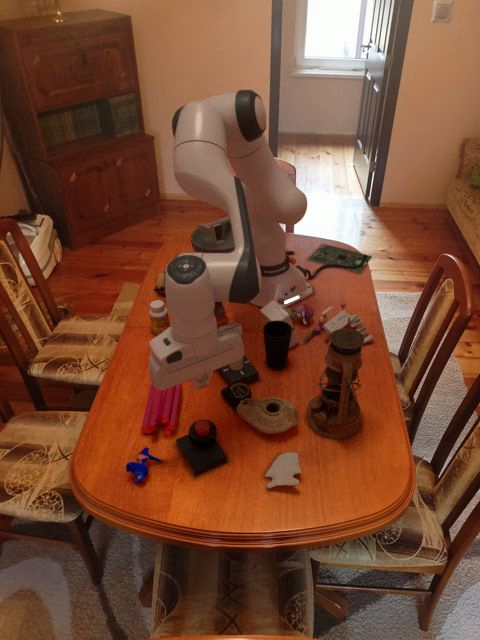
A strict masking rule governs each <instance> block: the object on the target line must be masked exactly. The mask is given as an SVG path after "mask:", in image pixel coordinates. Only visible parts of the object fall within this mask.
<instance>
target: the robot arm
mask: <svg viewBox="0 0 480 640" xmlns="http://www.w3.org/2000/svg"><path fill="white" fill-rule="evenodd" d="M266 129H267V111H266V107H265V105H264V101H263V100H262V97H261V95H260V94H258V93H257V92H256V91H254V90H253V89H238V90H237V91H235V92H233V91H232V92H225V93H219V94H215V95H211V96H210V97H207V98H204V99H201V100H194V101H191V102H188V103H187V104H185V105H182V106H180V107H179V108H177V110H176V111H175V112H174V115H173V116H172V118H171V130H172V136H173V138H174V142H173V153H172V154H173V157H172V160H173V162H172V163H173V174H174V179H175V181H176V183H177V184H178V186H179V187H180V189H181V190H182V191H183V192H184V193H185V194H186V195H188V196H190V197H191V198H193V199H195V200H197V201H199V202H202V203H205V204H207V205H210V206H213V207H215V208H217V209H219V210H220V211H223V212H224V213H225V214H226V215H227V216H229V218H230V222H229V223H231V228H232V234H233V240H234V246H235V250H234V251H233V252H231V253H196V252H182V253H179V254H177V255H176V256H175V257H173V259H171V260H170V261H169V262H168V263H167V265H166V267H165V270H164V271H165V274H164V287H165V293H164V294H165V302H166V308H167V310H168V315H169V316H170V318H171V319H170V327H169V328H168V329H166V330H165V331H164V332H162V333H161V334H160V335H157V336H155V337H154V338H152V339H151V340H150V341H149V342H148V346H149V349H150V351H151V354H150V355H149V358H148V372H149V377H150V381H151V384H153V385H154V387H155V388H156V389H157V390H159V391H164V390H166V389H168V388H171V387H173V386H176V385H178V384H181V385H182V384H183V383H186V382H188V381H190V382H191V383H192V384H193V388H194V389H195V390H196V391H199V390H202V389H204V388H207V387H209V386H210V380H211V377H213V375H214V371H217V370H216V369H218V368H221V367H223V366H226V365H228V364H231V363H234V362H236V361H239V360H241V359H242V358H243V356H246V355H245V353H246V352H245V346H244V342H243V341H244V340H243V338H242V336H243V326H242V324H241V323H238V322H236V321H232V322H228V324H227V325H223V326H220V327H218V328H217V323H216V318H215V316H214V307H215V302H222V303H230V304H231V303H232V304H241V305H242V304H243V305H247V304H248V303H251V304H252V305H253V306H256V307H260V308H263V307H264V306H265V305H267V304H268V303H269V302H270V301H275V302H276V303H277V304H278V305H279V306H280V307H281V308H289V307H290V306H292V305H294V304H296V303H298V302H300V301H301V300H304V299H306V298H307V297H309V296H311V295H313V293H314V291H313V287H312V286H311V284H310V283H309V282H308V281H307V280H306V278H307V277H308V278H309V279H310V280H312V279H314V278H315V277H316V276H317V275H318V274H319V273H320V272H321V271H322V270H323V269H326V268H329V267H330V268H337V267H340V268H339V269H341V268H347V269H354V268H359V267H360V266H362V264H363V263H364V261H365V257H367V255H368V254H365V253H364V254H365V255H363V258H362V261H361V263H360V264H359V265H356V266H344V265H338V264H323V265H321V266H319V268H317V270H316V271H315V272H314V273H313V274H312V273H311V270H310V269H306V268H303V266H300V265H299V264H298V265H297V259H296V258H294V257H293V256H290V254H286V251H287V235H286V232H285V229H284V228H283V226H281V225H285V226H295V225H297V224H299V223H300V222H301V221H302V220H303V218H304V217H305V215H306V213H307V211H308V198H307V195H306V194H305V192H304V191H302V190H301V189H300V188H298V187H297V186H296V185H295V184H294V182H292V180H291V179H290V178H289V176H288V175H287V174H286V173H285V171H284V170H283V168H282V167H281V165H280V164H279V163H278V161H277V159H276V158H275V156H274V155H273V152H272V150H271V148H270V144H269V143H268V140H267V138H266V135H265V131H266ZM228 162H229V164H228ZM229 165H230V166H231V169H232V171H233V172H234V174H235V175H234V174H233V173H232V171H231V170H230V168H229ZM279 298H283V299H284V303H283V304H279V303H278V299H279Z"/></svg>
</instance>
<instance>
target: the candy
mask: <svg viewBox="0 0 480 640" xmlns="http://www.w3.org/2000/svg"><path fill="white" fill-rule="evenodd" d="M340 308H341V311H342V310H344V309H345V308H347V304H346V302H343V301H342V302H341V303H340ZM329 320H330V318H329V316H328V315H327V314H326V315H320V317H319V318H318V325H320V326H321V327H320V328H321V330H325V329H324V328H323V327H322V326H323V325H324V324H325V323H327V322H328V321H329ZM327 342H328V343H327V346H328V347H329V346H330V342H331V341H330V334H329V333H328V336H327Z"/></svg>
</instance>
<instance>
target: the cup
mask: <svg viewBox="0 0 480 640" xmlns="http://www.w3.org/2000/svg"><path fill="white" fill-rule="evenodd" d="M291 334H292V327H291V326H290V325H289V324H288V323H286V322H284V321H279V320H275V321H271V322H268V323H266V322H265V324H264V325H263V327H262V335H263V344H264V352H265V361H266V362H265V363H266V366H267V367H268V368H269V369H271V370H275V371H278V370H282V369H285V367H286V366H287V364H288V358H289V356H288V355H289V351H290V348H289V346H290V340H291Z"/></svg>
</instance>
